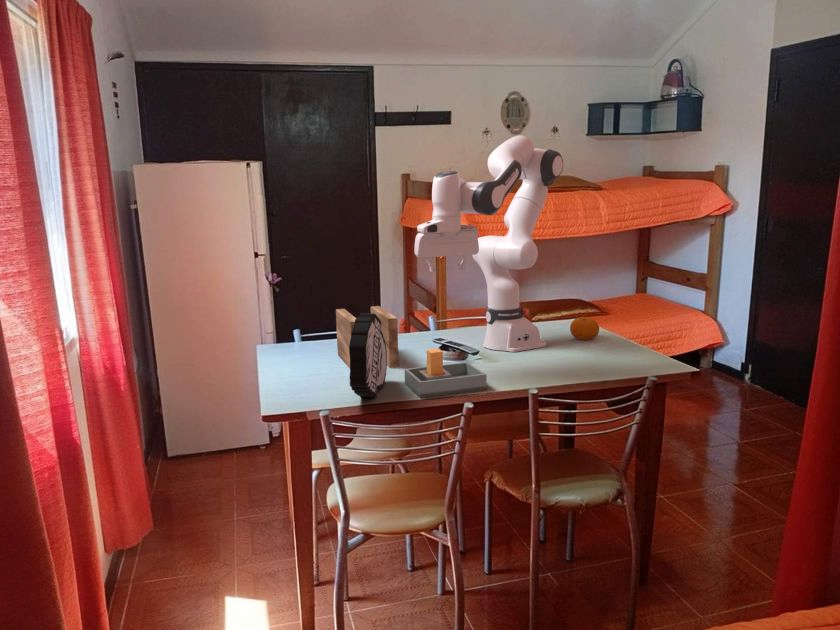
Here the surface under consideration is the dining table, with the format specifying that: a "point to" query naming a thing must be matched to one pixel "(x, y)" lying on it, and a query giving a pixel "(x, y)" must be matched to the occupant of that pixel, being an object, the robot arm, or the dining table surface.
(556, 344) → the dining table surface
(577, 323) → the fruit
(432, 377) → the socket
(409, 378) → the bin
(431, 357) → the orange rectangular block
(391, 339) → the bookends
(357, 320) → the wall sign
